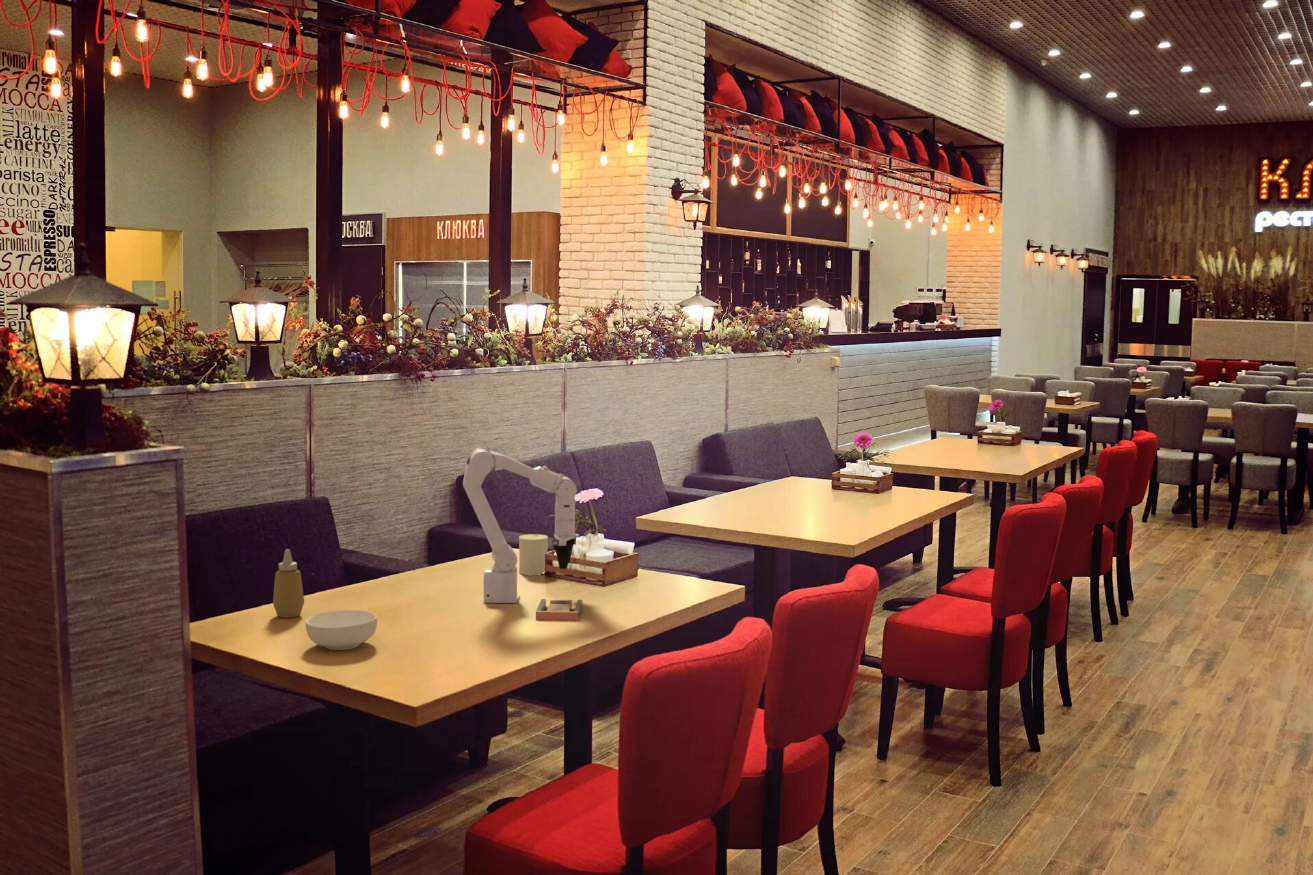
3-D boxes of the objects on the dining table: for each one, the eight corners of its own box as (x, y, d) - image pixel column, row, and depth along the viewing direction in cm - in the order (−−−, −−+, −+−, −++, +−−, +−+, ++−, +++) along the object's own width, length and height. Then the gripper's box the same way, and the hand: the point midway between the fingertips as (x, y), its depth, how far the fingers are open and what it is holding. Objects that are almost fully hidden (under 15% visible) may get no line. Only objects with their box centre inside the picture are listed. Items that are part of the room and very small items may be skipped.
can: (550, 569, 372) (550, 533, 371) (544, 576, 363) (545, 538, 362) (522, 568, 373) (522, 532, 372) (515, 575, 364) (515, 537, 363)
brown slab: (546, 617, 315) (546, 608, 314) (550, 607, 325) (550, 599, 324) (568, 617, 315) (568, 608, 314) (571, 608, 324) (571, 599, 324)
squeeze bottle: (295, 620, 308) (293, 553, 306) (267, 618, 309) (265, 551, 307) (310, 612, 315) (308, 547, 313) (282, 610, 317) (281, 546, 315)
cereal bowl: (350, 632, 297) (350, 605, 296) (391, 645, 286) (391, 617, 286) (292, 646, 284) (291, 618, 283) (332, 660, 273) (332, 630, 273)
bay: (535, 618, 312) (535, 611, 312) (541, 605, 326) (541, 598, 326) (578, 619, 312) (578, 612, 312) (582, 606, 326) (582, 599, 326)
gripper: (576, 523, 327) (576, 571, 328) (580, 515, 341) (580, 560, 343) (551, 523, 327) (551, 570, 328) (556, 514, 341) (556, 560, 343)
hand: (564, 565), depth 335 cm, fingers open, 7 cm apart
